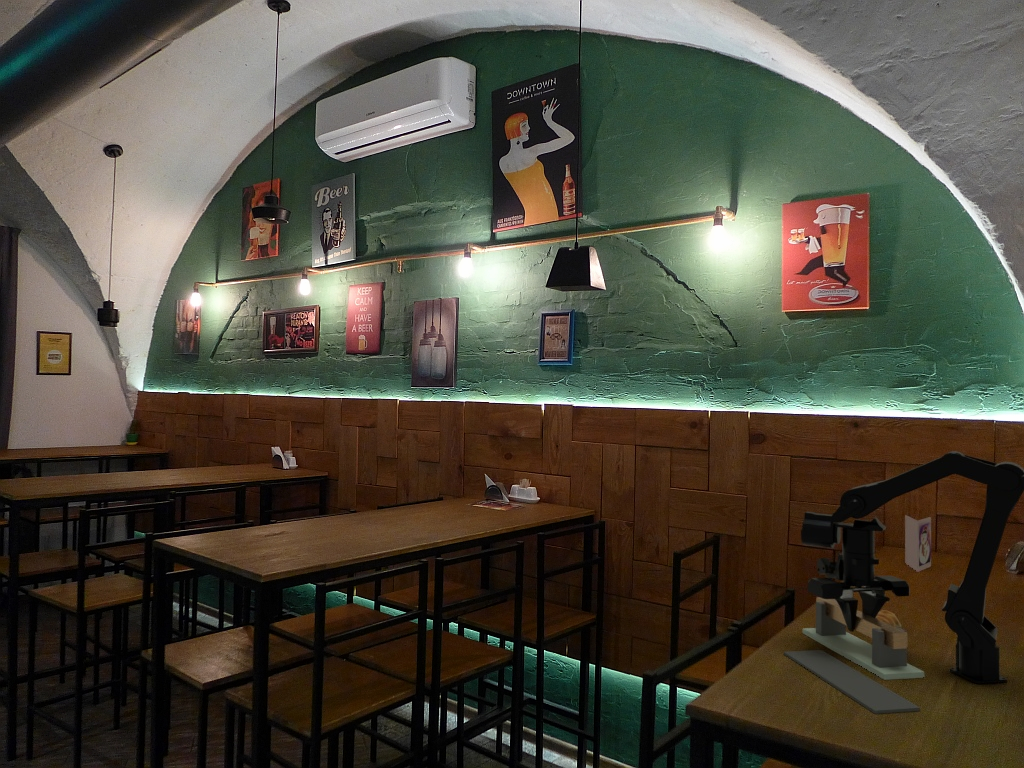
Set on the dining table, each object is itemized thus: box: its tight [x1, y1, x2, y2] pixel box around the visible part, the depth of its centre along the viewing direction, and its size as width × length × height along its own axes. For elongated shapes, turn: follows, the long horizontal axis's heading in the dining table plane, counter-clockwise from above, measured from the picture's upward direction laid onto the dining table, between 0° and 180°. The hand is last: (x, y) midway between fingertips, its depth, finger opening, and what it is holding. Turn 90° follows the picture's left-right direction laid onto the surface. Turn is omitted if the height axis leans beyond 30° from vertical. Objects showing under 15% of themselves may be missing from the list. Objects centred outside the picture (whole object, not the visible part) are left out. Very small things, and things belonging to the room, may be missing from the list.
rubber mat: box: [783, 649, 921, 715], centre depth 128 cm, size 27×8×1 cm, turn 9°
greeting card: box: [904, 514, 932, 573], centre depth 218 cm, size 11×7×15 cm, turn 132°
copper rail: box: [815, 596, 909, 649], centre depth 142 cm, size 24×3×3 cm, turn 9°
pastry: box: [876, 609, 902, 628], centre depth 157 cm, size 9×7×4 cm
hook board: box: [802, 601, 925, 681], centre depth 142 cm, size 26×8×8 cm, turn 9°
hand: (858, 630), depth 142 cm, fingers closed on copper rail, 3 cm apart
